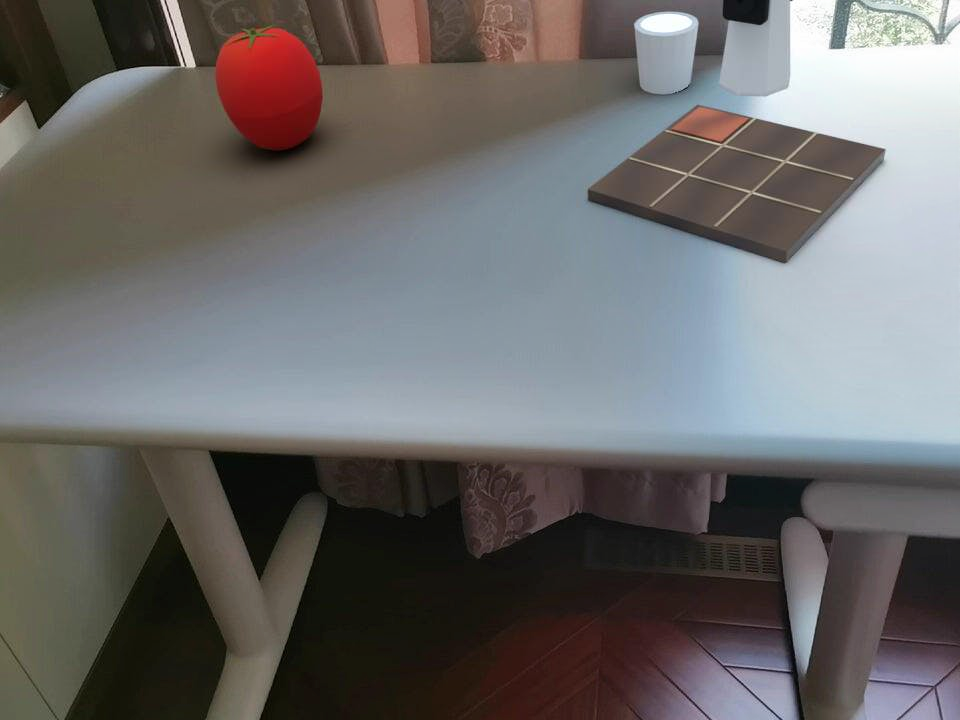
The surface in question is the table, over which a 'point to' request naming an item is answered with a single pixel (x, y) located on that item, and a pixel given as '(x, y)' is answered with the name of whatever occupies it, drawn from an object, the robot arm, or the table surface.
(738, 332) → the table surface
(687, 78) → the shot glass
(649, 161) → the board
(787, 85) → the pepper shaker
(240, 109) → the tomato
